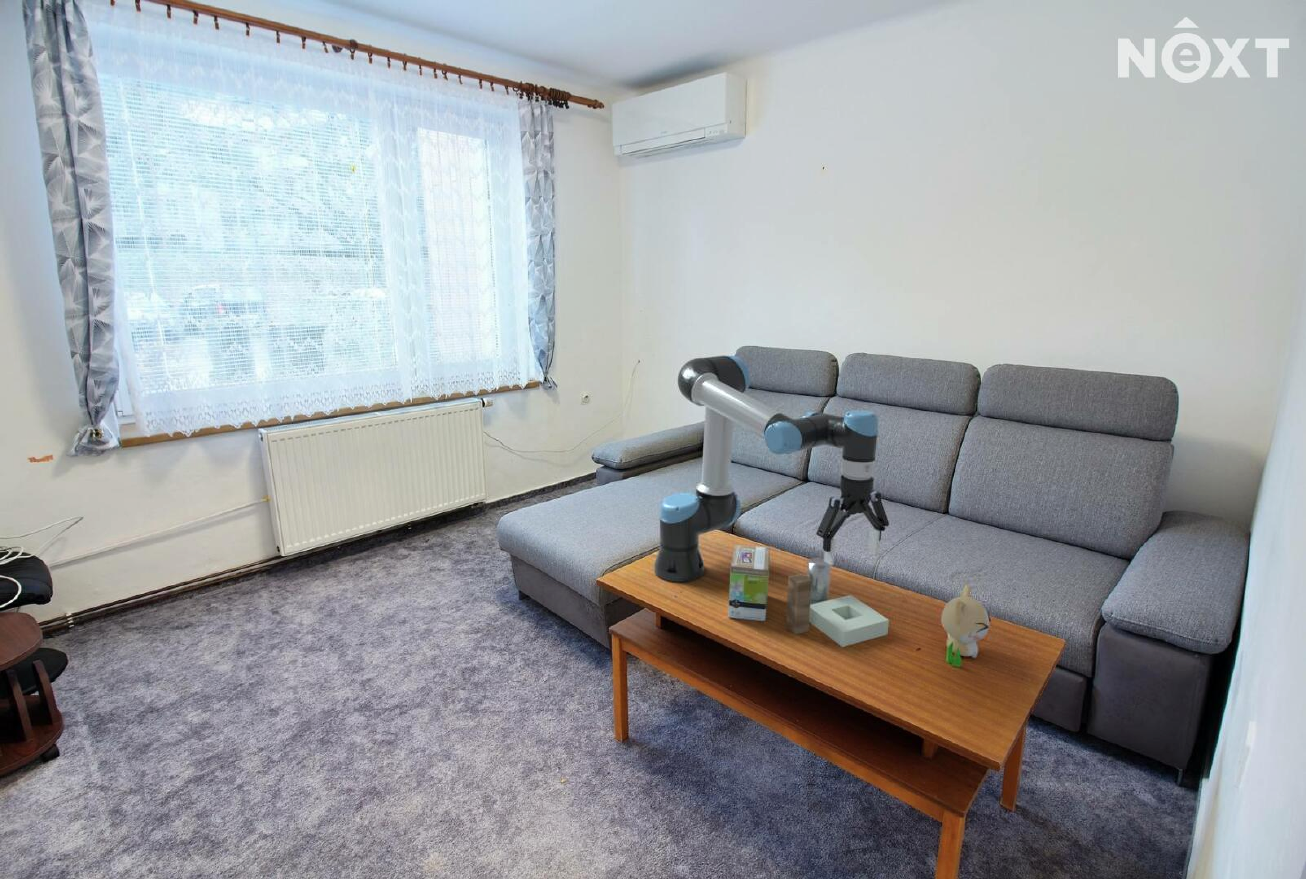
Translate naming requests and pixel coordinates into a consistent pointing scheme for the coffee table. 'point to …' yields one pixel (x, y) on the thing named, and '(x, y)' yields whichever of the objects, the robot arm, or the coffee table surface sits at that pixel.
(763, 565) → the tea box
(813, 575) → the round peg
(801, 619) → the square peg
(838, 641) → the socket block
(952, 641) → the kitten
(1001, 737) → the coffee table surface
